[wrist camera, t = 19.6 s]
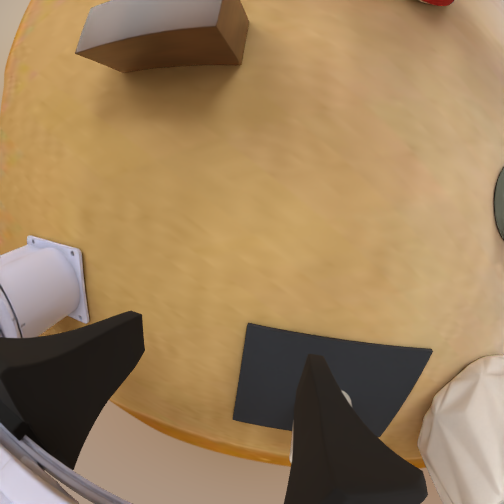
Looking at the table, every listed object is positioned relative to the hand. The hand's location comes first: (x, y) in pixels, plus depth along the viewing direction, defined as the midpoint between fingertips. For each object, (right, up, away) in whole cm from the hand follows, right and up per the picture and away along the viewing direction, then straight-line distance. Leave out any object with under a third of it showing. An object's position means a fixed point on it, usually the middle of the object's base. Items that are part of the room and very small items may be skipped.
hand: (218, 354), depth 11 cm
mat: (+8, -8, +11) cm, 16 cm away
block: (-4, +20, +5) cm, 21 cm away
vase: (+25, -11, +9) cm, 29 cm away
